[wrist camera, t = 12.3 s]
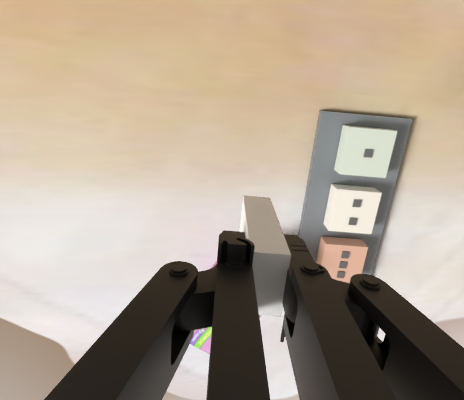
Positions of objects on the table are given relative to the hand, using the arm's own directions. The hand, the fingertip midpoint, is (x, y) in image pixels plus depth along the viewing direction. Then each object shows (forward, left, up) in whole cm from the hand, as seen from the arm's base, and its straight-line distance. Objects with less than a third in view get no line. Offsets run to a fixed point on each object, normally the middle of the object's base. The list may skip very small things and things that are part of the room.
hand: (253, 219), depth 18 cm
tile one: (-1, +16, -25) cm, 30 cm away
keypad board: (+7, +16, -26) cm, 32 cm away
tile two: (+7, +16, -25) cm, 31 cm away
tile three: (+15, +16, -25) cm, 33 cm away
